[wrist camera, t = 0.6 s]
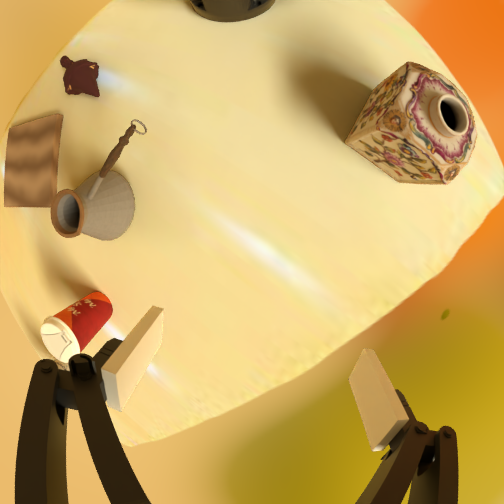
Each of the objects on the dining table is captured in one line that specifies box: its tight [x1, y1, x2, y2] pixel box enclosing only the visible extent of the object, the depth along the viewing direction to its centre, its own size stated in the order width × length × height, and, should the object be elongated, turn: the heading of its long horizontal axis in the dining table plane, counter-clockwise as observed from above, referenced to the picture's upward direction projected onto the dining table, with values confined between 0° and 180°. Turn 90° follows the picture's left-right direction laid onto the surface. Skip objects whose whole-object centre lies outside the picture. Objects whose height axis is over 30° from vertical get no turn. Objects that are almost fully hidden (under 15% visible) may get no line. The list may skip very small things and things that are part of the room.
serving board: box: [4, 114, 63, 207], centre depth 39 cm, size 18×18×2 cm
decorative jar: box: [345, 62, 477, 185], centre depth 27 cm, size 12×12×18 cm
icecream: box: [60, 56, 100, 97], centre depth 32 cm, size 7×7×15 cm
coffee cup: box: [41, 292, 113, 363], centre depth 39 cm, size 8×8×15 cm
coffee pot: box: [51, 119, 147, 240], centre depth 33 cm, size 21×12×15 cm, turn 127°
